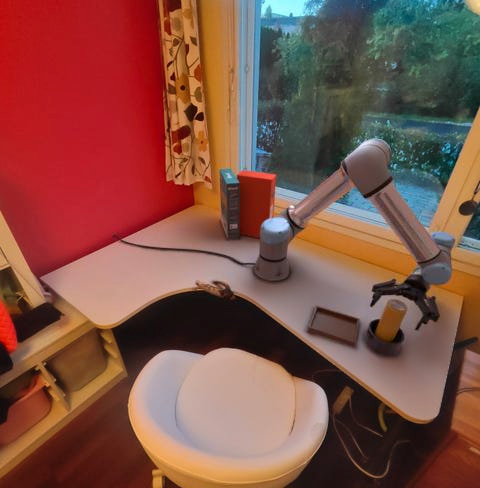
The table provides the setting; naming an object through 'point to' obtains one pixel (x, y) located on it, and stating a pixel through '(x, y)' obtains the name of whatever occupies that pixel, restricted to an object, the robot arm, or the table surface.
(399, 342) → the bowl
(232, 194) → the cake mix box
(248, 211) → the file binder
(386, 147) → the robot arm
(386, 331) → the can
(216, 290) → the bone fish hook
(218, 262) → the table surface
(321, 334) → the tray
